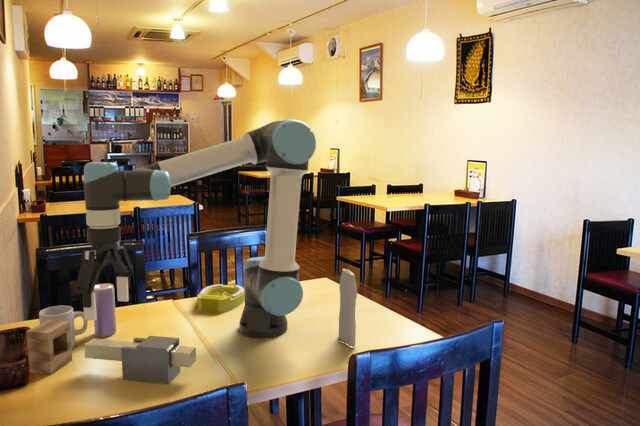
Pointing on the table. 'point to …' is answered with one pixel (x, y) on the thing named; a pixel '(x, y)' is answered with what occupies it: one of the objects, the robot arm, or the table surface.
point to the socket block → (49, 346)
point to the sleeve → (149, 360)
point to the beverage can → (105, 310)
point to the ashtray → (220, 298)
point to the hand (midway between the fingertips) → (107, 309)
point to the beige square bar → (112, 348)
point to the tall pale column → (347, 307)
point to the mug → (63, 318)
